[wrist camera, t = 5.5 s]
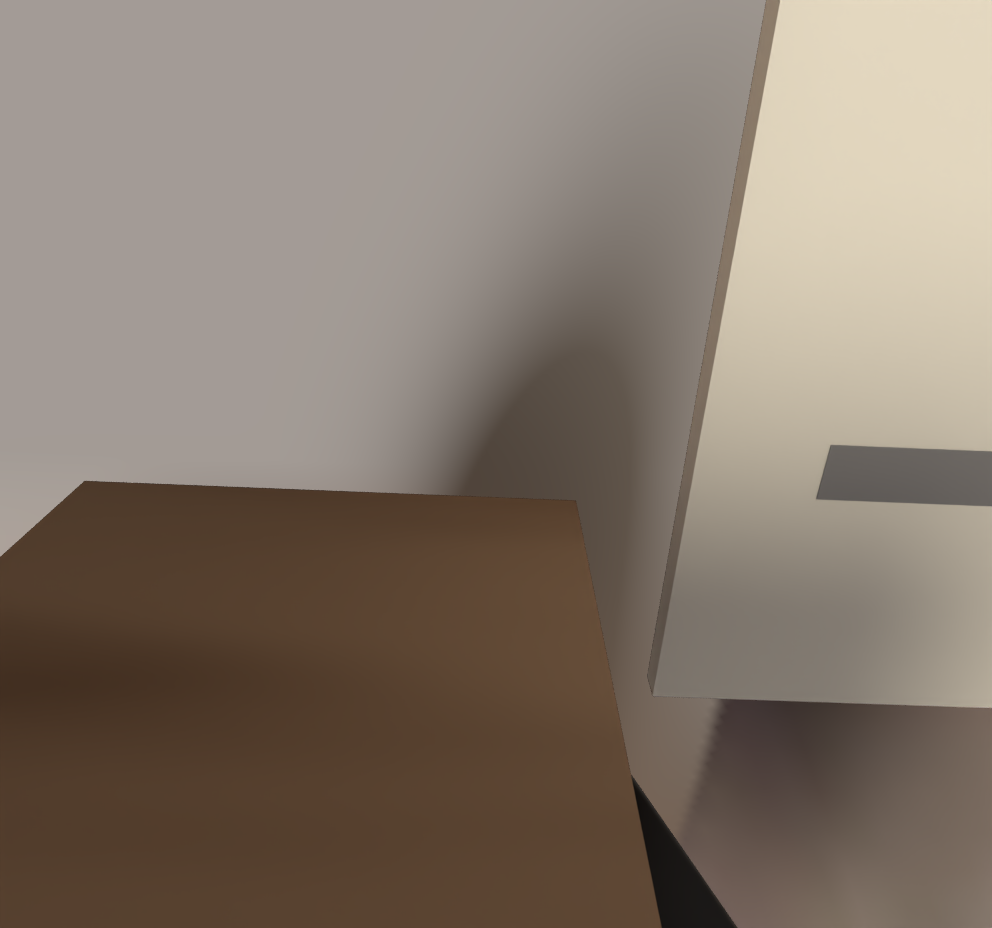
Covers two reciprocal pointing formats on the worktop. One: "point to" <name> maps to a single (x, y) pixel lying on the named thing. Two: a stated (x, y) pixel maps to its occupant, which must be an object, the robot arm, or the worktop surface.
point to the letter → (846, 376)
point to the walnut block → (310, 716)
